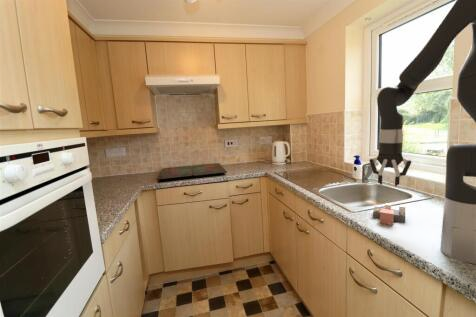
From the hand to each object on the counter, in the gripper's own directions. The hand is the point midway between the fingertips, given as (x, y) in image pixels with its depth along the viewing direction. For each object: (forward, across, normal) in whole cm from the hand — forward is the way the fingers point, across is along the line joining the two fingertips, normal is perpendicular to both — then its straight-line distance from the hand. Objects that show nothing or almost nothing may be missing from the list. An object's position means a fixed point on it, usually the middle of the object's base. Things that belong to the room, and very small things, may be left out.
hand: (388, 184), depth 92 cm
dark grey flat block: (+15, 0, +6) cm, 16 cm away
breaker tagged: (+12, 0, +6) cm, 14 cm away
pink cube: (+15, 0, 0) cm, 15 cm away
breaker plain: (+12, +5, +6) cm, 15 cm away
